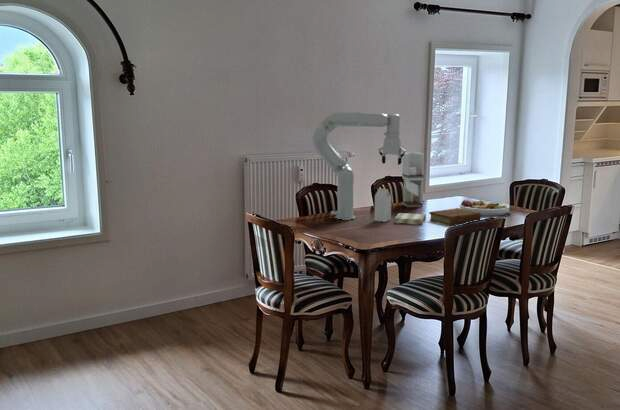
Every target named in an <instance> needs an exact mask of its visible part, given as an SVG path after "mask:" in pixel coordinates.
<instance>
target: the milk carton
mask: <svg viewBox="0 0 620 410" xmlns="http://www.w3.org/2000/svg"><path fill="white" fill-rule="evenodd" d="M374 221H375V222H381V221H382V222H383V223H386V222H389V221H392V195H391V192H390V191H389V189H388V188H377V191H376V193H375V194H374Z"/></svg>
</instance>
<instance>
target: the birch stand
mask: <svg viewBox="0 0 620 410" xmlns="http://www.w3.org/2000/svg"><path fill="white" fill-rule="evenodd" d="M426 216H427V214H424V213H403V212H401V213H400V212H399V213H398V214H397V215H395V217H394V224H399V223H407V224H406V225H419V224H422V225H424V223H425V221H426V218H427V217H426ZM423 222H424V223H423Z"/></svg>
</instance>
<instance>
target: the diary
mask: <svg viewBox="0 0 620 410" xmlns="http://www.w3.org/2000/svg"><path fill="white" fill-rule="evenodd" d="M429 215H430V219H429V220H430V222H433V221H434V223H437V222H438V223H437V224H441V225H446V226H449V227H453V225H454V226H458V224H460V225H464V224H463V223H466V222H470V221H474V220H480V219H482V216H481V214H480V213H479V212H474V211H469V210H464V209H460V207H455V208H450V209H448V208H447V209H441V210H435V211H429Z"/></svg>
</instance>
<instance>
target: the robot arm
mask: <svg viewBox="0 0 620 410" xmlns="http://www.w3.org/2000/svg"><path fill="white" fill-rule="evenodd" d="M400 121H401V116H400V114H397V113H390V114H387V113H380V112H379V113H366V112H358V111H335V110H334V111H332V112H331V113H330V114H329V115H327V117H326V118H324V119H322V121H320V123H318V124H317V126H316V127H315V129H314V133H313V135H312V143H313V146H314V148H315V150H316V151H317V153H318V154H319V156H320V157H321V158H322V159H323V160H324V161H325V163H326V165H327V166H328V167H329V168H330V169H331V170H332V172H333V173H334V174H335V175H336V176H337V191H336V192H337V210H335V211H334V210H331V211H330V215H332V216H334V215H335V216H334V219H335V218H337V219H336V220H338V219H342V220H341V221H352V220H351V219H353V220H355V218H356V219H357V216H356V215H354V182H355V181H354V180H355V175H354V170H353V169H352V168H351V166H350V165H349V164H348V163H347V161H346V160H345V158H343V157H342V156H341V154H340V153H338V151H336V150H335V149H334V147H333V146H332V145H331V144H330V142H329V141H328V137H329V134H331V132H333V131H334V130H335V129H336V128H337V127H353V128H354V127H357V128H358V127H359V128H362V127H369V128H372V127H374V128H375V127H376V128H382V127H385V126H386V132H383V135H384V139H383V146H382V147H380V148H378V149H377V151H378V152H379V155H380V156H381V163H382V164H386V161H387V160H386V155H392V156H393V155H394V156H395V155H396V156H397V157H398V158H397V165H398V166H399V165H401V164H402V162H403V156H404V155H405V153H407V150H406V149H404V148H403V147H402V141H401V137H400V128H401V127H400V124H401V122H400ZM401 152H402V153H401Z"/></svg>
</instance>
